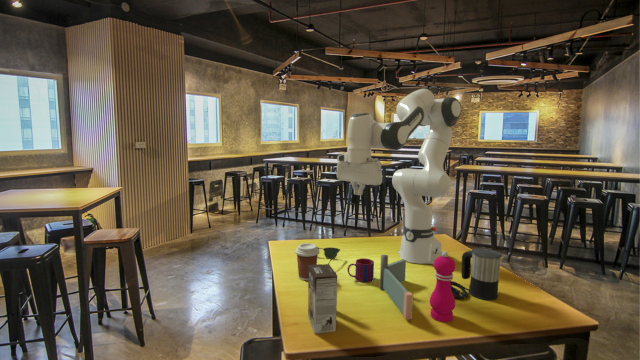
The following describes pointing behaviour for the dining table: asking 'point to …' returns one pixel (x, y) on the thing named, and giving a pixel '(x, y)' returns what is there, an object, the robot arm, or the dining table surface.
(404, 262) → the fence
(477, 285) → the milk frother
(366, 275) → the mug
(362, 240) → the dining table surface
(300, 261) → the coffee cup
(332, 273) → the coffee box
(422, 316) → the dining table surface
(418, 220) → the robot arm
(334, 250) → the sunglasses
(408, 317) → the grey-green hurdle bar
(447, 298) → the pepper mill
